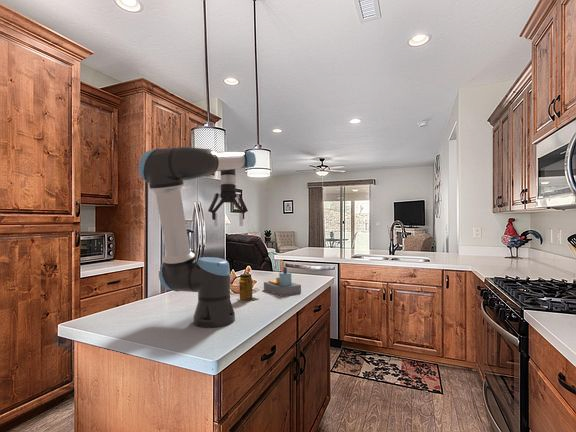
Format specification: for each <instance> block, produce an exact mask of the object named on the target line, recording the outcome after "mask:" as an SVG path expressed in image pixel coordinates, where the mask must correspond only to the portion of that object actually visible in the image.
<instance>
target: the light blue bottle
mask: <svg viewBox="0 0 576 432" xmlns="http://www.w3.org/2000/svg"><path fill="white" fill-rule="evenodd" d="M278 277H279V285H281V286H291V282H292V273H291V272H288V269H287V266H283V272H279V275H278Z"/></svg>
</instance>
